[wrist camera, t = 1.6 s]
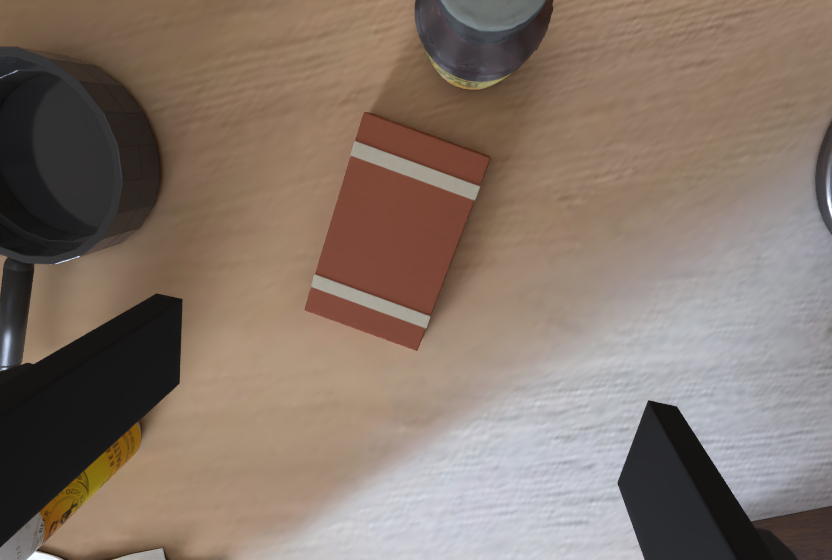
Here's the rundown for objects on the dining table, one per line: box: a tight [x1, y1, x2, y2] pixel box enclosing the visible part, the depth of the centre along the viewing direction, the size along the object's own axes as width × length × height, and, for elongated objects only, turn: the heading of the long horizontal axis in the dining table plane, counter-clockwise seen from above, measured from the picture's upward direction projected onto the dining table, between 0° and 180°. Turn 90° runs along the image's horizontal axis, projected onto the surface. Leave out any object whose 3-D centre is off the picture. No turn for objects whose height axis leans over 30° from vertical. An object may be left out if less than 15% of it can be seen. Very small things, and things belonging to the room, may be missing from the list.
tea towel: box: [305, 112, 490, 351], centre depth 39 cm, size 9×15×2 cm, turn 161°
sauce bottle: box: [415, 0, 553, 90], centre depth 26 cm, size 6×6×20 cm
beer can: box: [0, 421, 141, 560], centre depth 40 cm, size 6×6×15 cm
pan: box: [0, 47, 160, 265], centre depth 38 cm, size 14×14×5 cm
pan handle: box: [0, 257, 34, 371], centre depth 40 cm, size 10×2×2 cm, turn 161°
